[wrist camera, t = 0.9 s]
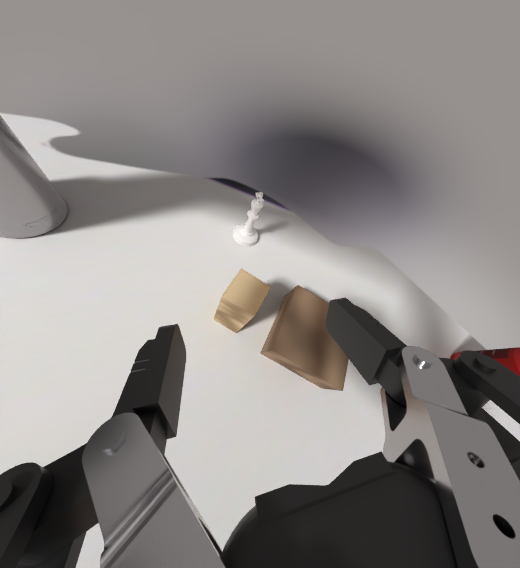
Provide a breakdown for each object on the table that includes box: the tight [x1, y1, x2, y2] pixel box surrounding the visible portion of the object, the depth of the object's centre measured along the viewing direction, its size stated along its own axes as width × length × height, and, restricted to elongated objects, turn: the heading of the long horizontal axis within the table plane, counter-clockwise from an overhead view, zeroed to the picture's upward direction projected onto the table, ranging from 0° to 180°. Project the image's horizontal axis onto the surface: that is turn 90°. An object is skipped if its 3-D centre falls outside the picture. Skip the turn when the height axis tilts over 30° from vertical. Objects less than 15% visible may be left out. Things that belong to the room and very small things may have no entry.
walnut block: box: [261, 285, 349, 391], centre depth 29 cm, size 11×11×5 cm
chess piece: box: [233, 192, 264, 246], centre depth 32 cm, size 5×5×10 cm
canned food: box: [451, 348, 520, 376], centre depth 34 cm, size 8×8×11 cm
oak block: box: [214, 268, 271, 333], centre depth 25 cm, size 4×4×10 cm
